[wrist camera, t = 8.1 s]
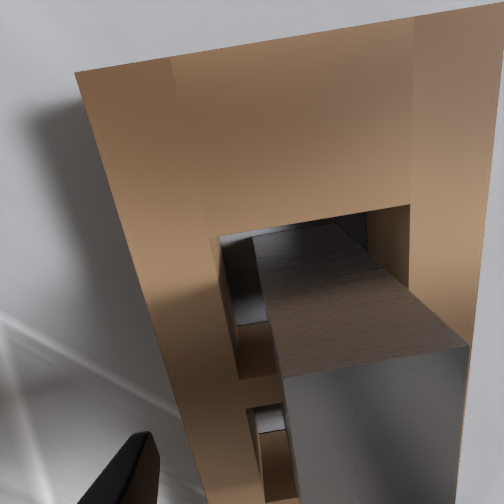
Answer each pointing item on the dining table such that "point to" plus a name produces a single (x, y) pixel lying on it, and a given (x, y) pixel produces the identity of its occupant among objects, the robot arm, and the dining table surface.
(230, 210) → the two-slot wooden tray
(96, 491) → the robot arm
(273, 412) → the dining table surface
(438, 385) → the clip
